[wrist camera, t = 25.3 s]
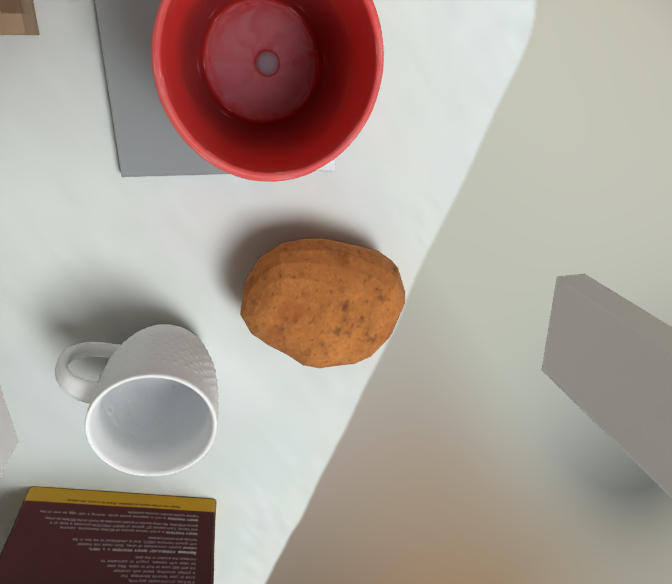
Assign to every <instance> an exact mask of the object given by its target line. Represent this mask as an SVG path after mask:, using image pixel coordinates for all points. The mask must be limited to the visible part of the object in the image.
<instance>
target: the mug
mask: <svg viewBox="0 0 672 584" xmlns="http://www.w3.org/2000/svg"><path fill="white" fill-rule="evenodd" d="M85 357H103V358H109V360H108V363H107V365H106V366H105V368H104V370H103V372H102V374H101V375H100V379H99V381H98V382H96V381H90V380H85V379H82V378H79V377H77V376H75V375H73V374H72V373H71V372H70V370H69V369H68V364H69V363H70V362H71V361H73V360H76V359H79V358H85ZM55 376H56V380H57V382H58V384H59V386H60V387H61V388H62V389H63V390H64V391H65V392H66V393H68V394H69V395H71V396H72V397H74V398H76V399H78V400H80V401H83V402H86V403H90V405H89V408H88V411H87V414H86V419H85V433H86V437H87V440H88V442H89V445H90V446H91V448H92V449H93V451H94V452H95V454H96V455H97V456H98V457H99V458H100V459H101V460H103V461H104V462H105V463H107V464H108V465H110V466H112V467H114V468H115V469H117V470H120V471H122V472H125V473H128V474H133V475H139V476H162V475H168V474H173V473H176V472H179V471H182V470H184V469H186V468H188V467H190V466H192V465H193V464H195V463H196V462H197V461H199V460H200V459H201V458H202V457H203V456H204V455H205V454H206V453H207V451H208V450H209V449H210V447H211V445H212V444H213V441H214V439H215V436H216V432H217V426H218V386H217V378H216V370H215V369H214V364H213V362H212V359H211V357H210V355H209V353H208V350H207V349H206V348H205V345H204V344H203V343H202V342H201V340H200V339H198V338H197V337H196V335H195V334H193V333H191V332H190V331H189V330H186V329H184V328H182V327H179V326H176V325H170V324H160V325H154V326H149V327H147V328H145V329H141V330H140V331H138V332H137V333H135V334H133V335H132V336H131V337H129V338H128V339H127V340H126V341H124V342H123V343H122V345H120V344H113V343H106V342H83V343H79V344H75V345H73V346H71V347H69V348H67V349H66V350H65V351H64V352H63V353H62V354H61V355H60V357H59V359H58V361H57V364H56V368H55Z"/></svg>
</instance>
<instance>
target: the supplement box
mask: <svg viewBox="0 0 672 584" xmlns="http://www.w3.org/2000/svg"><path fill="white" fill-rule="evenodd" d="M215 516H216V500H215V499H203V498H189V497H174V496H161V495H146V494H132V493H118V492H104V491H90V490H75V489H61V488H47V487H31V488H30V489H29V491H28V493H27V495H26V497H25V499H24V502H23V504H22V507H21V509H20V511H19V514H18V516H17V518H16V520H15V523H14V525H13V528H12V530H11V532H10V534H9V537H8V539H7V541H6V543H5V545H4V548H3V550H2V552H1V554H0V584H213V582H214V544H215Z"/></svg>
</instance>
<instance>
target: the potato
mask: <svg viewBox="0 0 672 584" xmlns="http://www.w3.org/2000/svg"><path fill="white" fill-rule="evenodd" d="M404 304H405V290H404V287H403V283H402V280H401V277H400V273H399V270H398V267H397V266H396V265H395V264H394V263H393V262H392V260H390V259H389V258H387V257H386V256H384V255H383V254H382V253H380V252H379V251H376V250H373V249H369V248H365V247H361V246H357V245H352V244H348V243H343V242H338V241H334V240H329V239H324V238H321V239H300V240H294V241H289V242H284V243H282V244H280V245H279V246H277V247H276V248H274V249H272V250H271V251H269V252H267V253H266V254H264V255H263V256H261V257H260V258H259V259H258V261H257V262H256V264H255V266H254V267H253V269H252V270H251V272H250V274H249V275H248V277H247V278H246V280H245V284H244V290H243V298H242V305H241V313H240V314H241V316H242V318H243V320H244V321H245V323H246V325H247V327H248V328H249V330H250V332H251V333H252V334H253V335H254V336H256V337H257V338H259V339H260V340H262V341H263V342H265V343H266V344H267V345H269V346H271V347H273V348H275V349H277V350H279V351H281V352H283V353H285V354H287V355H289V356H290V357H292V358H293V359H295V360H296V361H298V362H299V363H301V364H302V365H306V366H311V367H316V368H324V367H331V366H338V365H347V364H355V363H357V362H359V361H362V360H364V359H366V358H368V357H371V356H372V355H373V354H374V353H375V352H376V351H377V350H378V349H379V348H380V347H381V346H382V345H383V343H384V342H385V341H386V340H387V339H388V338H389V337H390V335H391V334H392V332H393V329H394V327H395V325H396V323H397V320H398V318H399V316H400V313H401V311H402V309H403V306H404Z"/></svg>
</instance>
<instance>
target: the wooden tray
mask: <svg viewBox="0 0 672 584" xmlns="http://www.w3.org/2000/svg"><path fill="white" fill-rule="evenodd" d="M0 11H1V13H0V35H39V30H38V24H37V19H36V14H35V9H34V4H33V0H0Z"/></svg>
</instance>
